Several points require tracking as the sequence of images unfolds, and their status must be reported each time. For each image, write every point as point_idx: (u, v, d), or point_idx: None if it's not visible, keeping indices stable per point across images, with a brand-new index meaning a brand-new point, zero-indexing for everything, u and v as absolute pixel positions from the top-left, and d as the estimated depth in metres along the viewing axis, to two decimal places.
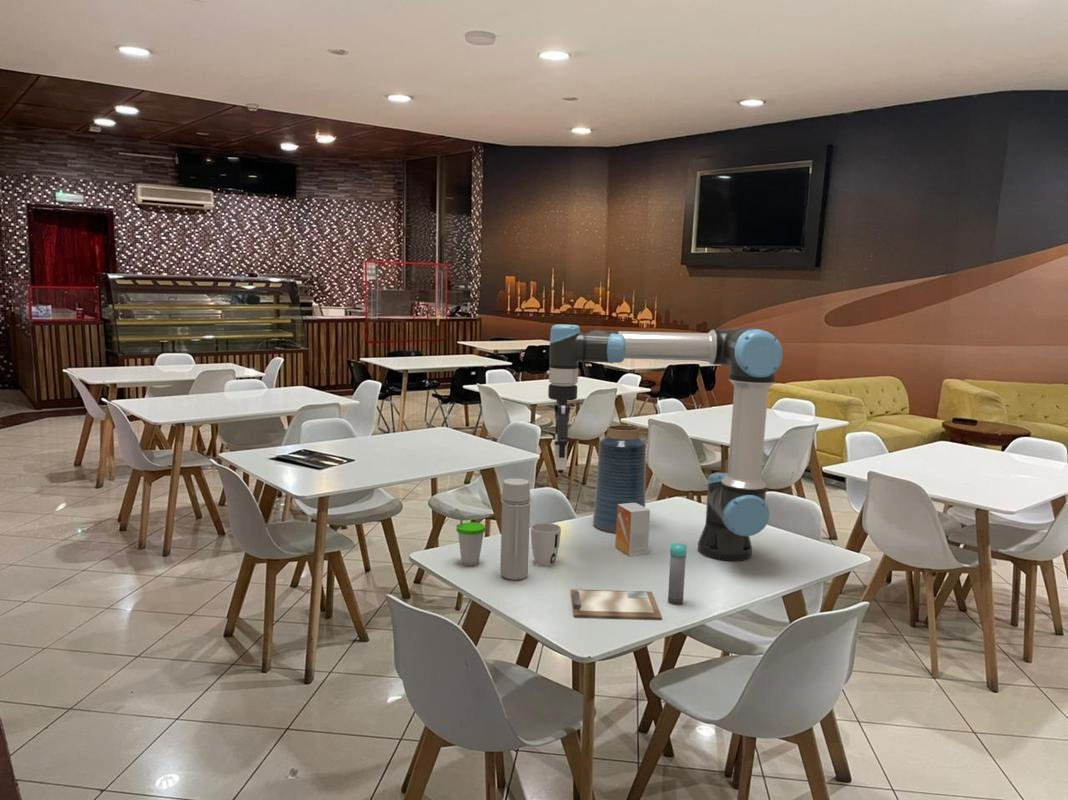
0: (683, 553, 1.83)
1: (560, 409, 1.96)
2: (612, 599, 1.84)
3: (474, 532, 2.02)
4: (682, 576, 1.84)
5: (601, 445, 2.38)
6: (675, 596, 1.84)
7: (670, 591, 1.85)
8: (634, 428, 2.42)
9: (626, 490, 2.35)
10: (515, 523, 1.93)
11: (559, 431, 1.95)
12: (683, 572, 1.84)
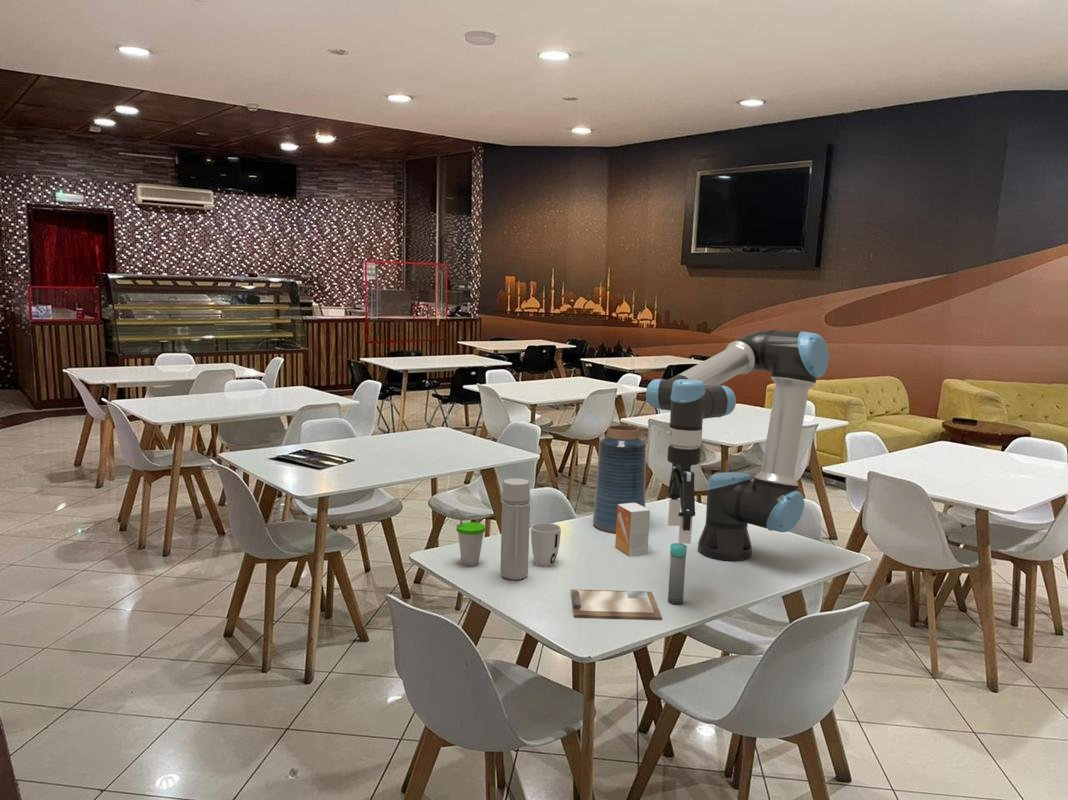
0: (683, 553, 1.83)
1: (685, 476, 1.75)
2: (612, 599, 1.84)
3: (474, 532, 2.02)
4: (682, 576, 1.84)
5: (601, 445, 2.38)
6: (675, 596, 1.84)
7: (670, 591, 1.85)
8: (634, 428, 2.42)
9: (626, 490, 2.35)
10: (515, 523, 1.93)
11: (685, 501, 1.73)
12: (683, 572, 1.84)
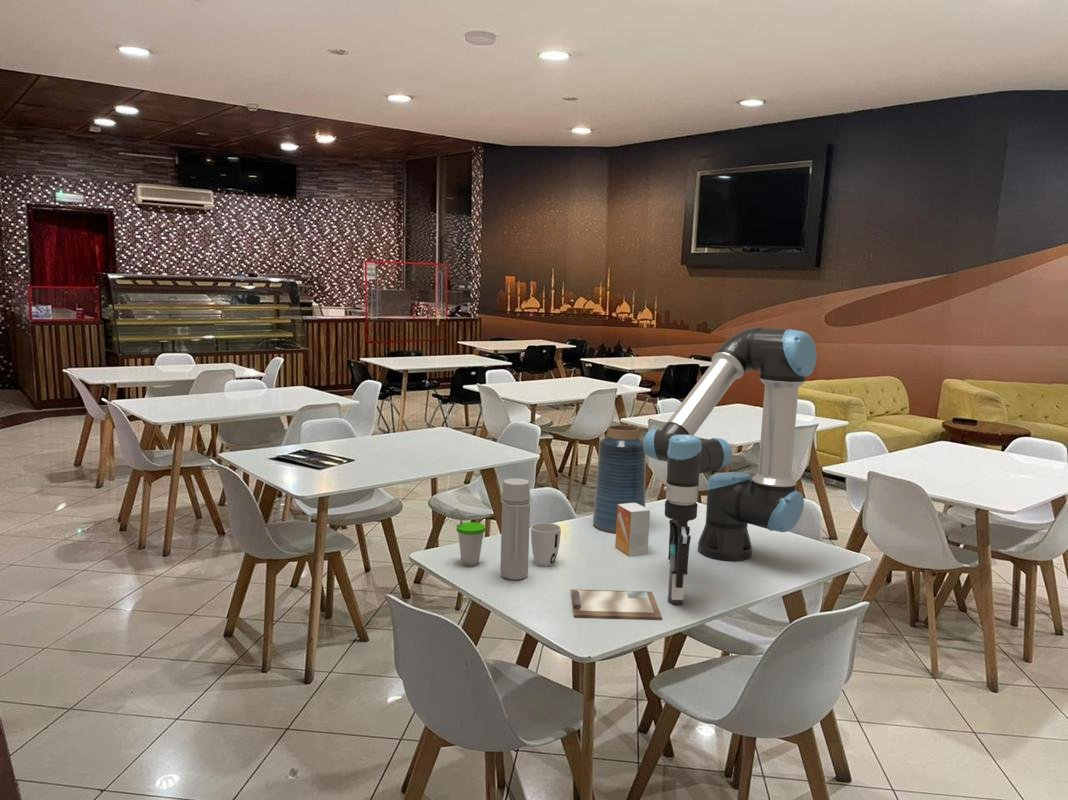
0: None
1: (681, 540, 1.77)
2: (612, 599, 1.84)
3: (474, 532, 2.02)
4: None
5: (601, 445, 2.38)
6: None
7: (670, 591, 1.85)
8: (634, 428, 2.42)
9: (626, 490, 2.35)
10: (515, 523, 1.93)
11: (679, 562, 1.79)
12: None
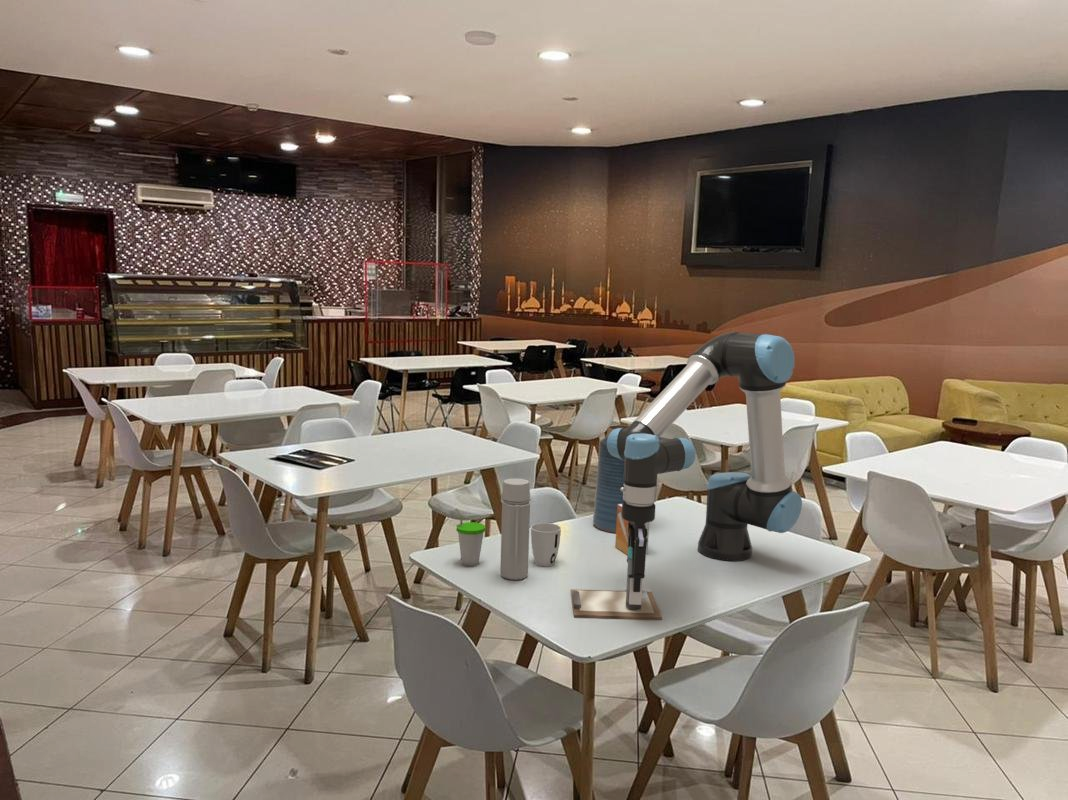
0: None
1: (638, 543, 1.71)
2: (612, 599, 1.84)
3: (474, 532, 2.02)
4: None
5: (601, 445, 2.38)
6: None
7: (628, 595, 1.78)
8: None
9: None
10: (515, 523, 1.93)
11: (635, 566, 1.72)
12: None
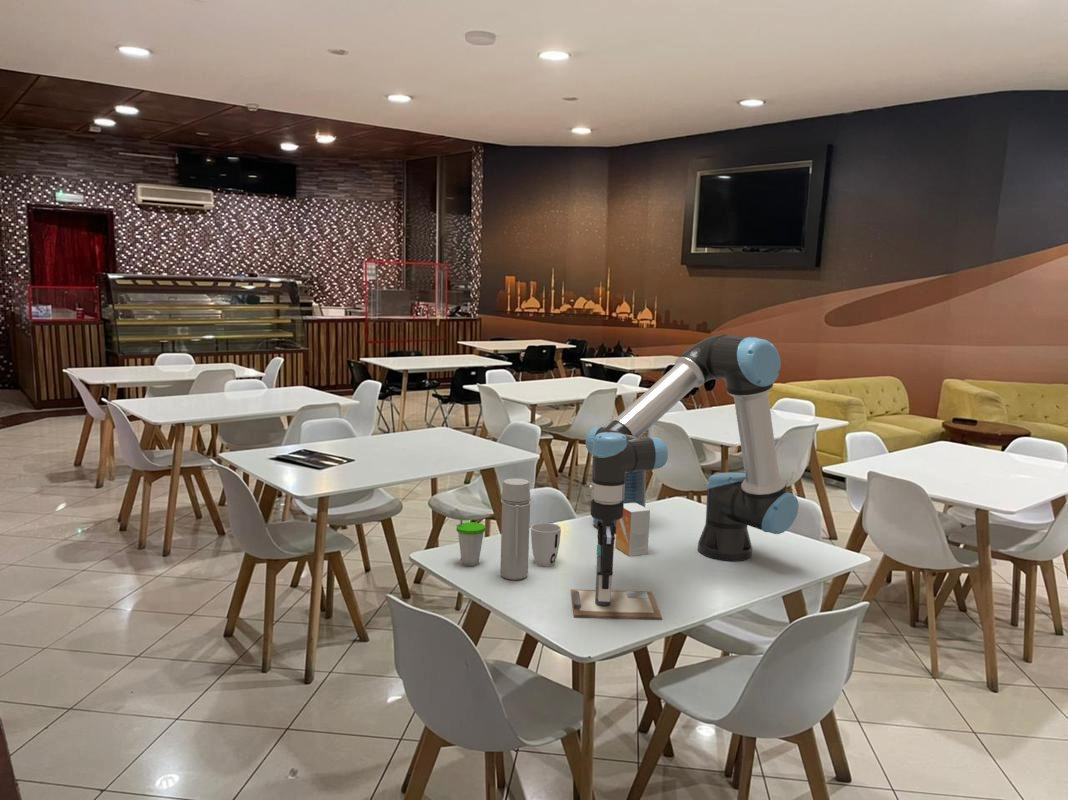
0: None
1: (605, 540, 1.73)
2: (612, 599, 1.84)
3: (474, 532, 2.02)
4: None
5: None
6: None
7: (597, 592, 1.80)
8: None
9: (626, 490, 2.35)
10: (515, 523, 1.93)
11: (603, 563, 1.74)
12: None
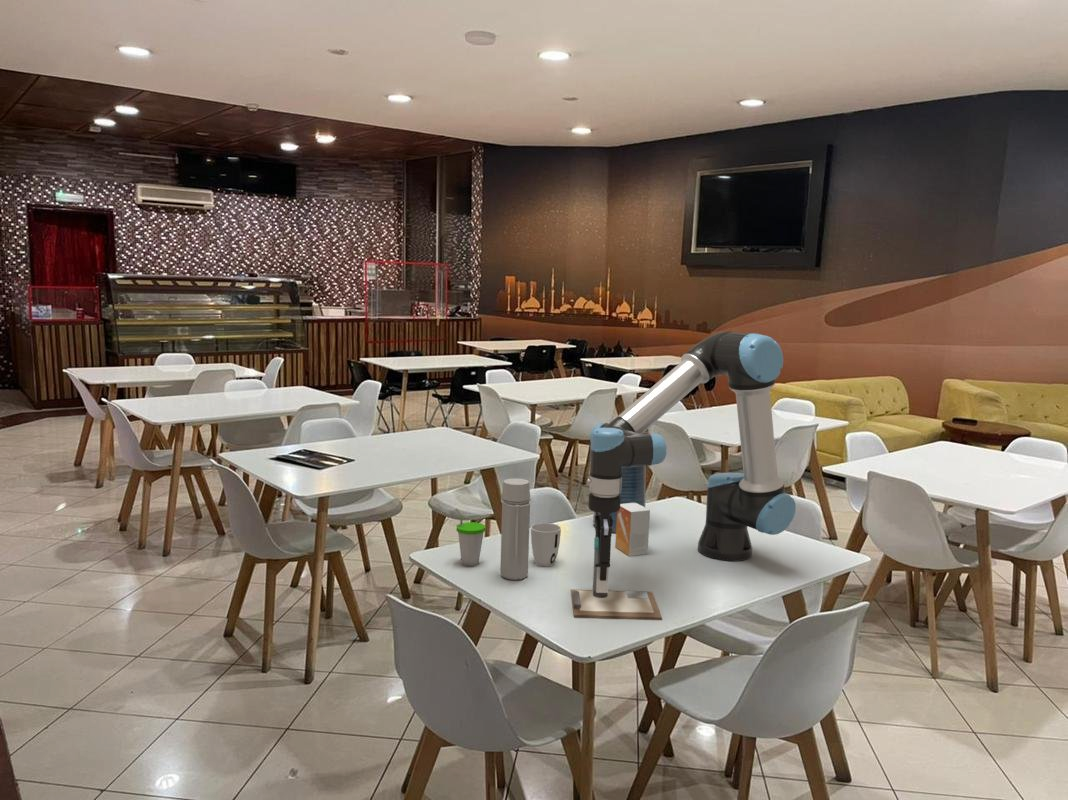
0: None
1: (603, 531, 1.78)
2: (612, 599, 1.84)
3: (474, 532, 2.02)
4: None
5: None
6: None
7: (594, 584, 1.85)
8: None
9: (626, 490, 2.35)
10: (515, 523, 1.93)
11: (601, 555, 1.79)
12: None
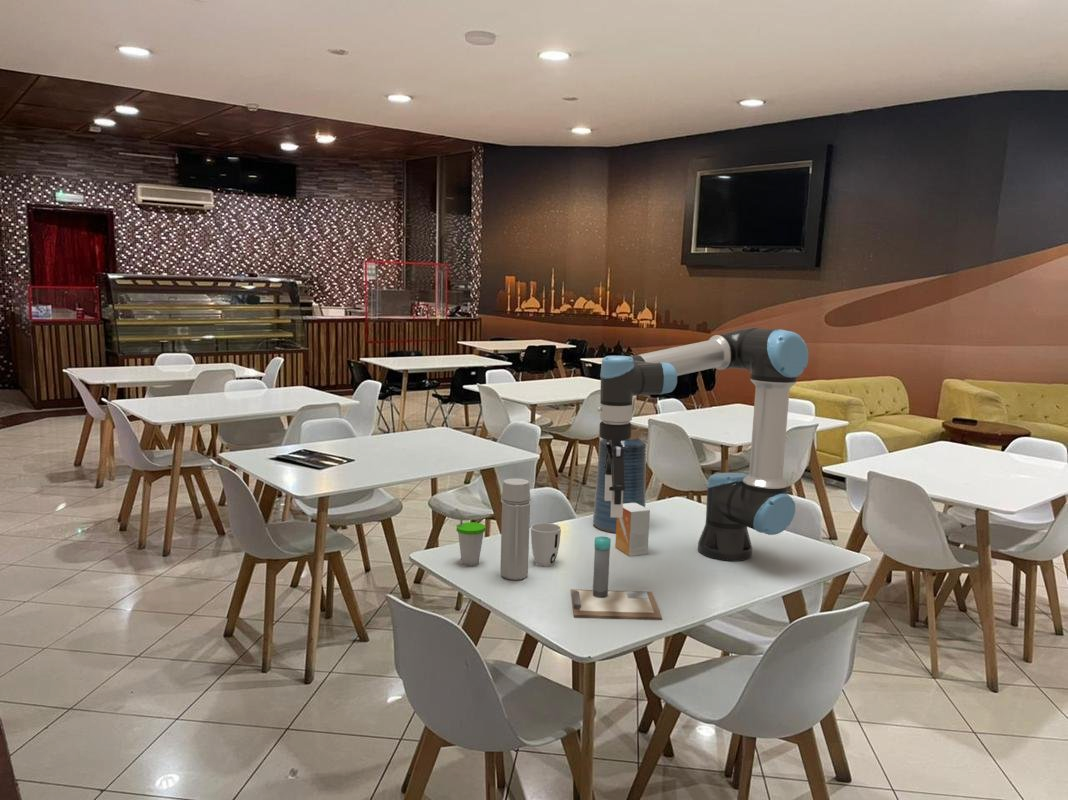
0: (606, 546, 1.83)
1: (615, 451, 1.77)
2: (612, 599, 1.84)
3: (474, 532, 2.02)
4: (606, 569, 1.84)
5: (601, 445, 2.38)
6: (599, 589, 1.85)
7: (594, 584, 1.85)
8: (634, 428, 2.42)
9: (626, 490, 2.35)
10: (515, 523, 1.93)
11: (615, 476, 1.76)
12: (607, 565, 1.84)
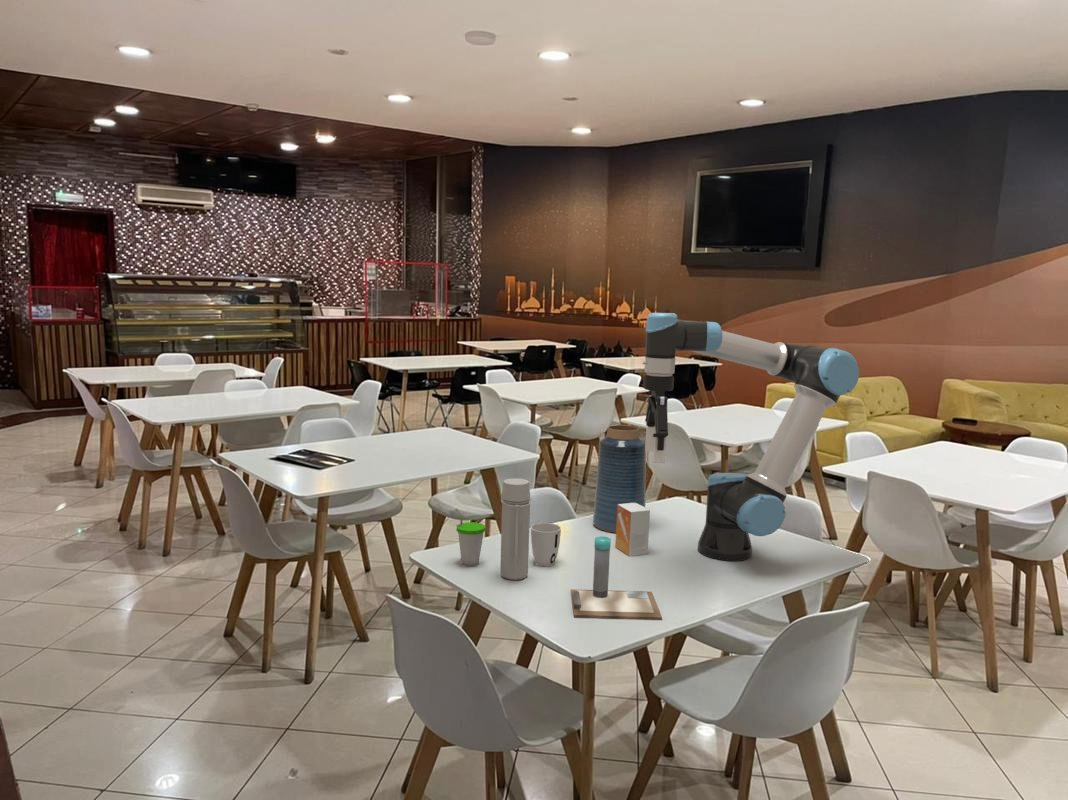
0: (607, 546, 1.83)
1: (659, 400, 1.89)
2: (612, 599, 1.84)
3: (474, 532, 2.02)
4: (606, 569, 1.84)
5: (601, 445, 2.38)
6: (599, 589, 1.85)
7: (594, 584, 1.85)
8: (634, 428, 2.42)
9: (626, 490, 2.35)
10: (515, 523, 1.93)
11: (659, 423, 1.88)
12: (607, 565, 1.84)
